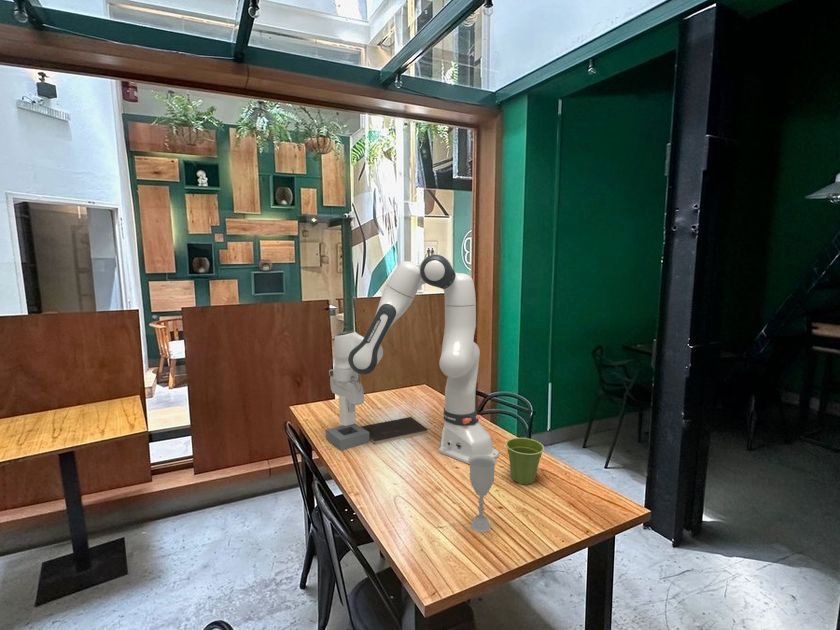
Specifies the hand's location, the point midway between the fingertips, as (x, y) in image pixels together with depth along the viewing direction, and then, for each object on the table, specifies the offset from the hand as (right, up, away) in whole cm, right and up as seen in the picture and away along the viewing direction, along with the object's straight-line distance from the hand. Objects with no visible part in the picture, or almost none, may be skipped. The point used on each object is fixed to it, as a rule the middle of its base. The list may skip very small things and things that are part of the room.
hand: (347, 409), depth 162 cm
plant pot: (+60, -16, -26) cm, 68 cm away
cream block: (0, -5, +1) cm, 5 cm away
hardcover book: (+17, -12, +11) cm, 23 cm away
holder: (0, -12, +2) cm, 12 cm away
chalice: (+43, -19, -50) cm, 69 cm away
